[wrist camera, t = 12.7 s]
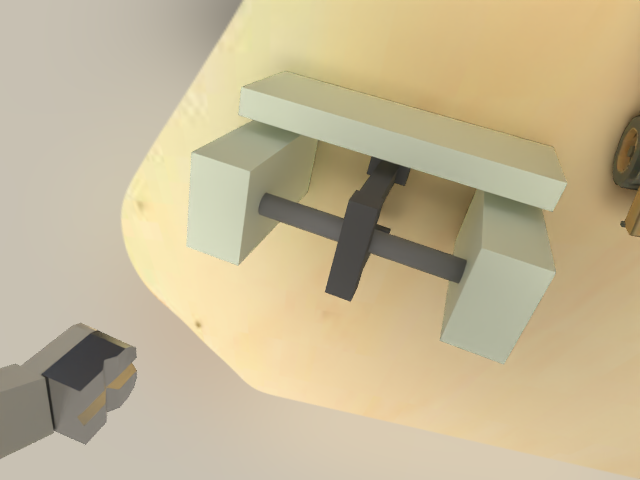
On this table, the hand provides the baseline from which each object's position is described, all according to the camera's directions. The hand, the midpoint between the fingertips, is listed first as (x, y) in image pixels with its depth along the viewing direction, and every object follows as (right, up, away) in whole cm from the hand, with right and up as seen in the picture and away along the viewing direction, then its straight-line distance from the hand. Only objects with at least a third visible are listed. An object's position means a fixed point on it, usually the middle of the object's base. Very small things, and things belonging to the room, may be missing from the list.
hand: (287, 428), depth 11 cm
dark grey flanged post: (+5, +7, +26) cm, 28 cm away
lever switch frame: (+7, +11, +29) cm, 31 cm away
